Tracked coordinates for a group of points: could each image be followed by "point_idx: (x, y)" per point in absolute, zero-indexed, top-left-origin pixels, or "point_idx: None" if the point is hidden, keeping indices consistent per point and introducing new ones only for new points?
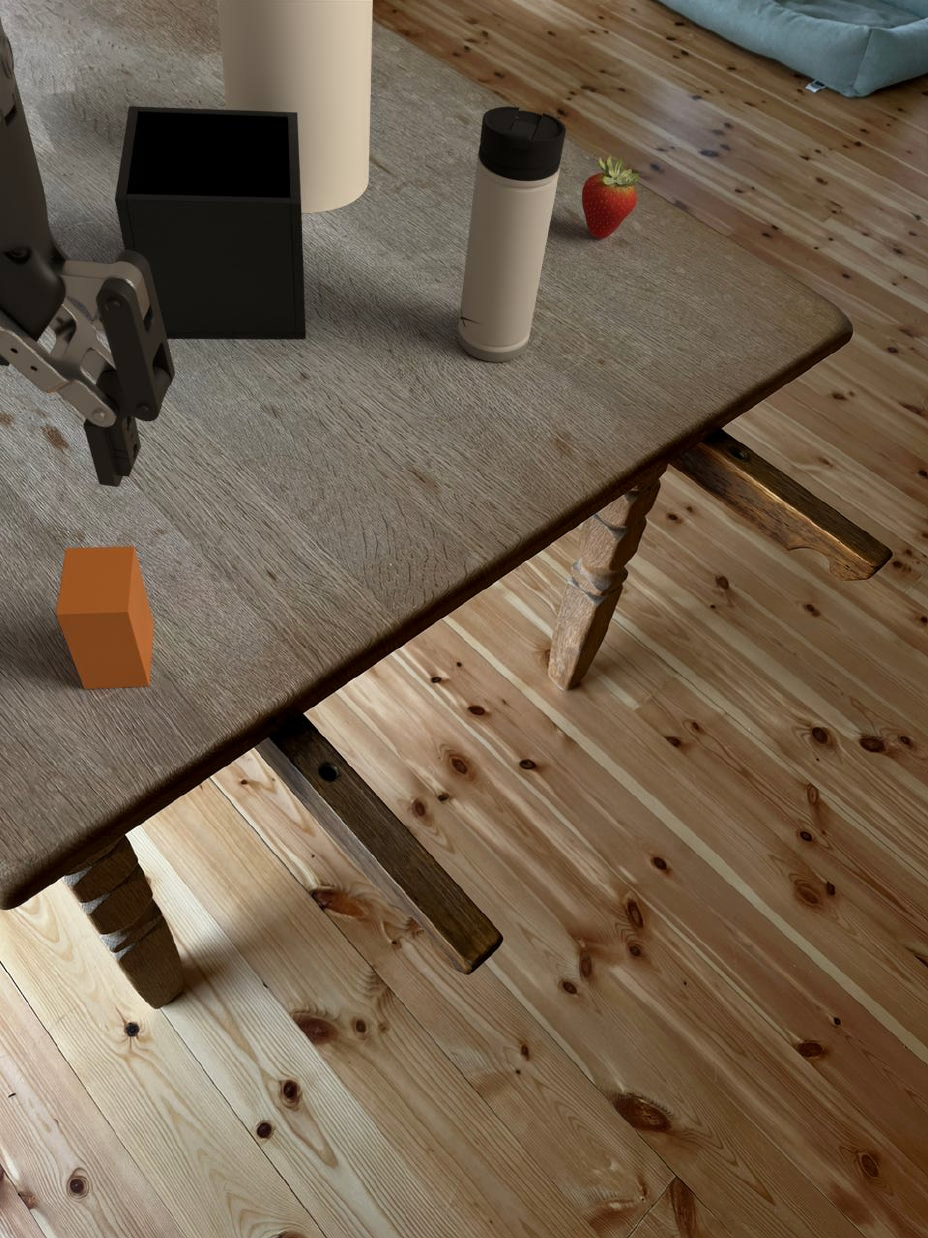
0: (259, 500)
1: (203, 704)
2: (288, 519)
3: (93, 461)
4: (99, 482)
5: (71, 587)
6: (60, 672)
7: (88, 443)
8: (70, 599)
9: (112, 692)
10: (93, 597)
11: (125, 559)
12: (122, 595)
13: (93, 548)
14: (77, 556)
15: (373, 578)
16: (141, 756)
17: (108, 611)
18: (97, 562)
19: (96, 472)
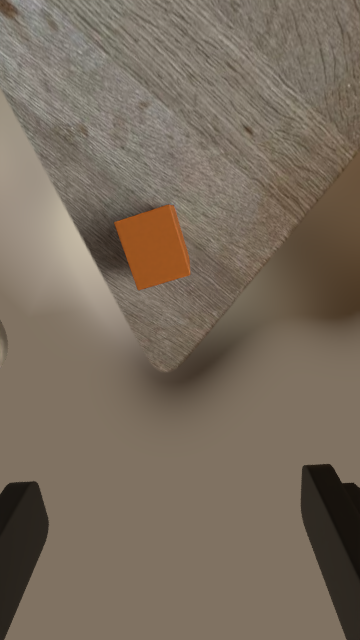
0: (216, 33)
1: (228, 263)
2: (248, 52)
3: (322, 572)
4: (305, 528)
5: (137, 262)
6: None
7: (338, 617)
8: (142, 274)
9: None
10: (158, 268)
11: (167, 221)
12: (180, 260)
13: (136, 217)
14: (127, 229)
15: (334, 108)
16: (202, 307)
17: (175, 278)
18: (146, 231)
19: (313, 548)
